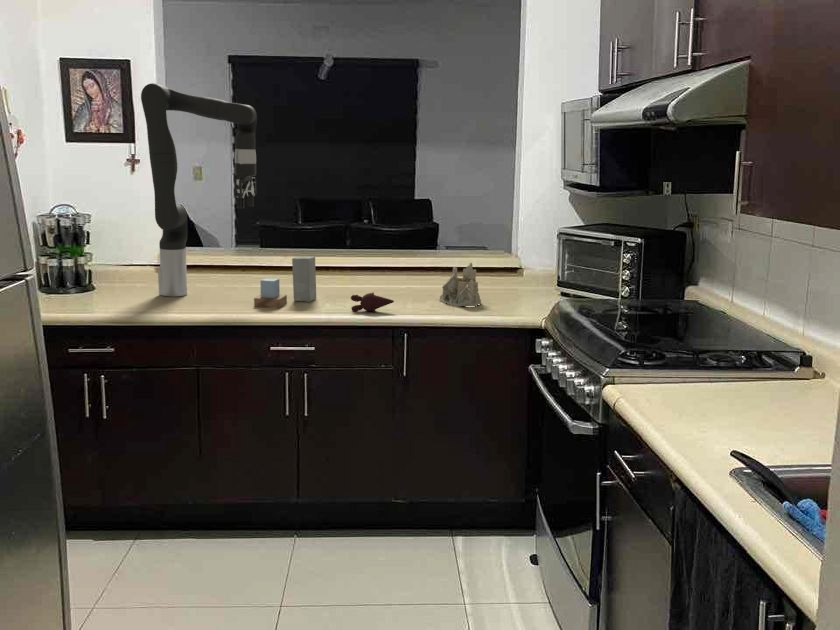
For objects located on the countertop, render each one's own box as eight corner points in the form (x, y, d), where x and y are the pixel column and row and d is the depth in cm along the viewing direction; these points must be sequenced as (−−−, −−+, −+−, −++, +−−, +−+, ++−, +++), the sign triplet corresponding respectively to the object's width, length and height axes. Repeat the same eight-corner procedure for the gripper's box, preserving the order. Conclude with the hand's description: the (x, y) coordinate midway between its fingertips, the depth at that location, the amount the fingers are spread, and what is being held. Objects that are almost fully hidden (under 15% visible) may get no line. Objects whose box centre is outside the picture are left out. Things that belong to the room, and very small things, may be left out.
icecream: (394, 291, 304) (351, 294, 304) (392, 290, 296) (349, 292, 297) (395, 311, 303) (352, 313, 304) (393, 310, 296) (349, 313, 297)
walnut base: (254, 308, 304) (254, 298, 303) (262, 303, 312) (262, 293, 311) (279, 309, 302) (279, 299, 302) (286, 304, 311) (286, 294, 310)
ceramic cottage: (443, 297, 330) (445, 258, 326) (485, 302, 325) (488, 263, 321) (431, 307, 315) (433, 266, 311) (475, 312, 311) (478, 271, 307)
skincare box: (310, 302, 313) (310, 259, 310) (291, 301, 315) (291, 257, 311) (317, 298, 321) (317, 255, 318) (299, 297, 323) (298, 254, 319)
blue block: (260, 297, 305) (260, 280, 304) (266, 294, 310) (266, 278, 308) (273, 298, 304) (273, 281, 302) (279, 295, 308) (279, 279, 307)
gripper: (243, 161, 318) (244, 205, 322) (227, 162, 305) (227, 208, 308) (263, 161, 317) (263, 206, 320) (247, 163, 303) (247, 209, 307)
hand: (245, 207), depth 314 cm, fingers open, 8 cm apart
